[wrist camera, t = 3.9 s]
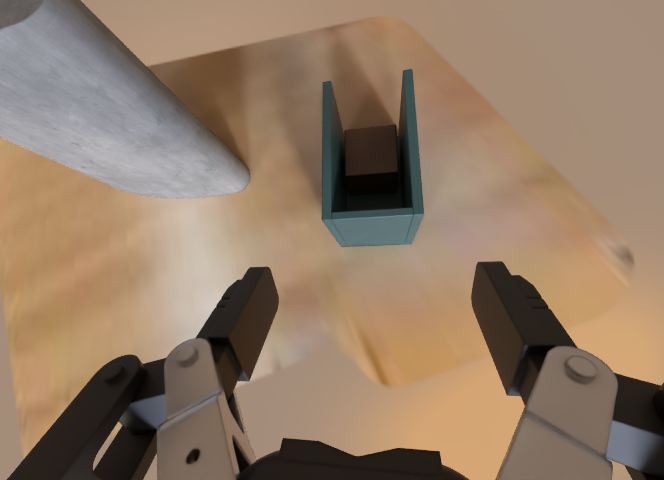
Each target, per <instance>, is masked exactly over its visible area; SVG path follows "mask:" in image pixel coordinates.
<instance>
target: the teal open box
mask: <svg viewBox="0 0 664 480" xmlns="http://www.w3.org/2000/svg"><path fill="white" fill-rule="evenodd" d="M397 148H398V165H399V175H398V185H397V192H396V193H382V194H368V195H354V196H352V195H351V193H350V190H349V187H348V184H347V180H346V177H345V137H344V133H343V129H342V125H341V120H340V116H339V112H338V108H337V104H336V100H335V95H334V91H333V87H332V83H331V81H327V82H323V121H322V221H323V222H324V224H325V225H326V226H327V228H328V229H329V230H330V232H331V233H332V235H333V236H334V237H335V239H336V240H337V241H338V243H339V244H340V245H341V247H350V246H376V245H401V244H412V241H413V239H414V237H415V234H416V232H417V230H418V227H419V225H420V222H421V220H422V218H423V215H424V208H423V195H422V183H421V171H420V158H419V146H418V133H417V121H416V108H415V96H414V83H413V71H412V69H410V70H404V71H403V78H402V92H401V105H400V118H399V131H398V136H397Z"/></svg>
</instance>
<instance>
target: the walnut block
mask: <svg viewBox="0 0 664 480" xmlns="http://www.w3.org/2000/svg"><path fill="white" fill-rule="evenodd" d="M344 135H345V177H346V180H347V184H348V187H349V190H350V193H351V195H352V196H354V195H368V194H382V193H396V192H397V185H398V175H399V165H398V148H397V132H396V125H386V126H378V127H369V128H360V129H351V130H345V131H344Z"/></svg>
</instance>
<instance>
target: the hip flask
mask: <svg viewBox="0 0 664 480" xmlns="http://www.w3.org/2000/svg"><path fill="white" fill-rule="evenodd" d="M0 137H1V138H3V139H6V140H8V141H10V142H13V143H15V144H17V145H19V146H22V147H24V148H26V149H29V150H31V151H33V152H35V153H38V154H40V155H42V156H44V157H47V158H49V159H51V160H54V161H56V162H58V163H60V164H63V165H65V166H67V167H70V168H72V169H74V170H76V171H79V172H81V173H83V174H85V175H88V176H90V177H92V178H95V179H97V180H99V181H101V182H104V183H106V184H108V185H111V186H113V187H115V188H117V189H120V190H122V191H125V192H129V193H133V194H138V195H144V196H151V197H160V198H203V197H213V196H220V195H227V194H232V193H237V192H240V191H242V190H243V189H244V188H245V187H246V186H247V185H248V183H249V180H250V172H249V169H248V168H247V167H246V166H245V165H244V164H243V163H242V162H241V161H240V160H239V159H238V158H237V157H236V156H235V155H234V154H233V153H232V152H231V151H230V150H229V149H228V148H227V147H226V146H225V145H224V144H223V143H222V142H221V141H220V140H219V139H218V138H217V137H216V136H215V135H214V134H213V133H212V132H211V131H210V130H209V129H208V128H207V127H206V126H205V125H204V124H203V123H202V122H201V121H200V120H199V119H198V118H197V117H196V116H195V115H194V114H193V113H192V112H191V111H190V110H189V109H188V108H187V107H186V106H185V105H184V104H183V103H182V102H181V101H180V100H179V99H178V98H177V97H176V96H175V95H174V94H173V93H172V92H171V91H170V90H169V89H168V88H167V87H166V86H165V85H164V84H163V83H162V82H161V81H160V80H159V79H158V78H157V77H156V76H155V75H154V74H153V73H152V72H151V71H150V70H149V69H148V68H147V67H146V66H145V65H144V64H143V63H142V62H141V61H140V60H139V59H138V58H137V57H136V56H135V55H134V54H133V53H132V52H131V51H130V50H129V49H128V48H127V47H126V46H125V45H124V44H123V43H122V42H121V41H120V40H119V39H118V38H117V37H116V36H115V35H114V34H113V33H112V32H111V31H110V30H109V29H108V28H107V27H106V26H105V25H104V24H103V23H102V22H101V21H100V20H99V19H98V18H97V17H96V16H95V15H94V14H93V13H92V12H91V11H90V10H89V9H88V8H87V7H86V6H85V5H84V4H83V3H82V2H81V1H80V0H0Z"/></svg>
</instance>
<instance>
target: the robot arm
mask: <svg viewBox="0 0 664 480" xmlns="http://www.w3.org/2000/svg"><path fill="white" fill-rule="evenodd" d="M471 300H472V307H473V310H474V313H475V316H476V318H477V321H478V323H479V326H480V328H481V331H482V333H483V336H484V338H485V341H486V343H487V346H488V348H489V351H490V353H491V356H492V358H493V361H494V363H495V366H496V369H497V371H498V374H499V376H500V379H501V381H502V384H503V386H504V389H505V391H506V394H507V395H509V396H521V397H522V400H523V402H524V405H525V408H524V410H523V413H522V415H521V417H520V420H519V422H518V425H517V427H516V430H515V432H514V435H513V437H512V440H511V442H510V445H509V447H508V450H507V452H506V455H505V458H504V460H503V462H502V465H501V467H500V470H499V472H498V474H497V477H496V479H495V480H612V472H613V466H612V462H611V461H610V460H612V461H615V462H617V463H620V464H623V465H625V467H626V469H627V471H628V472H629V474H630V476H631V478H632V479H633V480H664V383H663V384H662V385H661V386H660V385H656V384H652V383H649V382H645V381H641V380H638V379H634V378H630V377H626V376H623V375H620V374H616V373H614V372H613V371H612V370H611V369H610V368H609V367H608V365H607V364H605V363H604V362H603V361H602V360H600V359H599V358H598V357H596V356H594V355H593V354H591V353H588V352H587V351H584V350H581V349H579V348H577V346H576V345H575V343H574V342H573V341H572V339H571V338H570V336H569V335H568V334H567V332H566V331H565V329H564V328H563V326H562V325H561V324H560V322H559V321H558V319H557V318H556V317H555V315H554V314H553V312H552V311H551V310H550V309H549V308H548V305H547V304H546V302H545V301H544V300H543V299H542V298H541V295H540V294H539V293H538V291H537V290H536V288H535V287H534V286H533V285H532V284H531V283H530V282H528V281H527V280H525V279H524V278H523V277H521V276H520V275H511V274H510V272H509V271H508V269H507V268H506V266H505V264H504V263H503V262H501V261H498V262H478V263H477V266H476V271H475V276H474V282H473V288H472V295H471ZM278 303H279V298H278V293H277V289H276V286H275V283H274V280H273V276H272V273H271V270H270V268H269V267H250V268H249V269H248V270H247V272H246V274H245V275H244V277H243V278H242V280H237V281H236V282H235V283H233V284H232V285H231V286H230V287H229V288H228V289H227V290H226V292H225V293H224V295H223V296H222V300H220V301H219V303H218V304H217V307H216V308H215V309H214V310H213V312H212V313H211V315H210V317H209V318H208V320H207V321H206V323H205V324H204V326H203V327H202V329H201V330H200V332H199V334H198V335H197V337H196V338H195V339H190V340H188V341H185V342H183V343H181V344H180V345H178V346H177V347H176V348H175V349H174V350H172V351H171V353H170V354H169V355H168V357H167V358H164V359H160V360H157V361H153V362H149V363H145V364H142V362H141V361H140V360H139V358H138V357H137V356H135V355H125V356H121V357H118V358H116V359H114V360H112V361H110V362H109V363H107V364H106V365H104V366H103V367H102V368H101V369H100V370H99V371H98V372H97V373H96V374H95V375H94V376H93V377H92V378H91V380H90V381H89V382H88V383H87V384H86V386H85V387H84V388H83V389H82V390H81V392H80V393H79V394H78V395H77V396H76V398H75V399H74V400H73V401H72V402H71V404H70V405H69V406H68V407H67V408H66V410H65V411H64V412H63V413H62V414H61V416H60V417H59V418H58V419H57V420H56V422H55V423H54V424H53V425H52V426H51V427H50V429H49V430H48V431H47V432H46V433H45V435H44V436H43V437H42V438H41V439H40V441H39V442H38V443H37V444H36V445H35V447H34V448H33V449H32V450H31V451H30V453H29V454H28V455H27V456H26V457H25V459H24V460H23V461H22V462H21V464H20V465H19V466H18V467H17V468H16V469H15V471H14V472H13V473H12V474H11V475H10V477H9V478H8V479H7V480H143V479H144V476H145V475H146V473H147V471H148V469H149V467H150V465H151V463H152V461H153V459H154V457H155V455H156V453H157V480H469V479H468V478H466V477H465V476H463V475H462V474H460V473H458V472H457V471H455V470H453V469H451V468H449V467H447V466H444V465H442V463H441V457H440V452H439V451H428V450H416V449H405V448H396V449H391V450H387V451H382V452H377V453H373V454H368V455H364V456H354V455H351V454H348V453H346V452H344V451H341V450H339V449H336V448H334V447H332V446H329V445H327V444H324V443H322V442H319V441H310V440H299V439H287V438H283V440H282V444H281V448H280V450H279V451H276V452H273V453H271V454H268V455H266V456H264V457H262V458H260V459H258V460H256V457H255V454H254V452H253V449H252V447H251V445H250V442H249V439H248V435H247V432H246V428H245V425H244V421H243V418H242V414H241V411H240V408H239V404H238V400H237V396H236V393H235V391H234V388H235V386H236V383H237V381H249V380H250V378H251V375H252V373H253V370H254V368H255V365H256V363H257V360H258V357H259V355H260V352H261V350H262V347H263V345H264V342H265V340H266V337H267V335H268V332H269V329H270V327H271V324H272V322H273V319H274V317H275V314H276V312H277V309H278ZM118 421H119V422H120V423H121V424H122V425H123V426H122V427H121V429H120V430H119V432H118V433H117V435H116V437H115V438H114V440H113V441H112V443H111V444H110V446H109V447H108V449H107V451H106V452H105V454H104V455H103V457H102V458H101V460H100V462H99V463H98V465H97V466H96V468H95V469H94V471H93V462H94V459H95V457H96V455H97V453H98V451H99V450H100V448H101V447H102V445H103V444H104V442H105V441H106V439H107V438H108V436H109V435H110V433H111V432H112V430H113V429H114V427H115V426H116V424H117V422H118ZM608 459H609V460H608Z"/></svg>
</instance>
